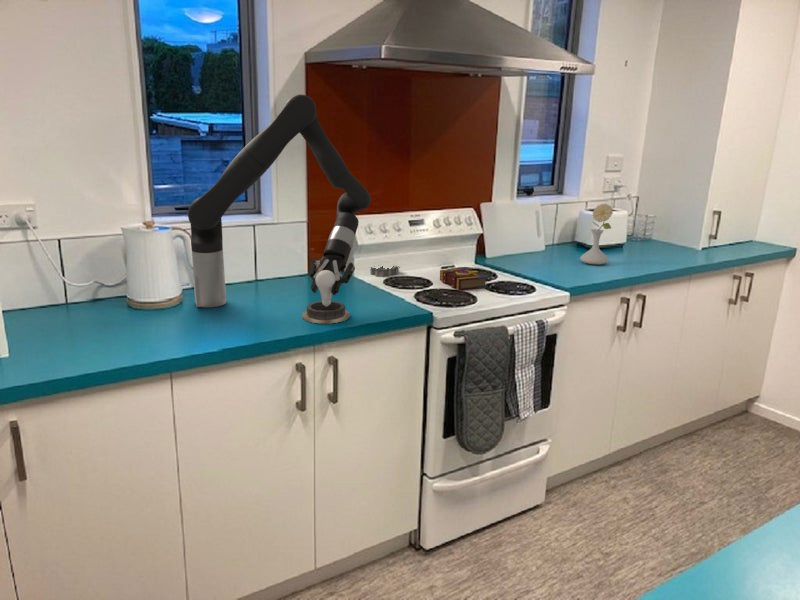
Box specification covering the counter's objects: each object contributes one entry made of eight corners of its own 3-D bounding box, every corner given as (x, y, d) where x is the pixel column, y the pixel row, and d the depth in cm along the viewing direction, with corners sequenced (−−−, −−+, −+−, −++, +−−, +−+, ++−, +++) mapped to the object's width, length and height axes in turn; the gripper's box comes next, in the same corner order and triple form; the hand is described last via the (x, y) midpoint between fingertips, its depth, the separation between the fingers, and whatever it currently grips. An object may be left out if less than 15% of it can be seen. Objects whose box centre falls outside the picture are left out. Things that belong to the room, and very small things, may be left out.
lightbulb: (312, 307, 189) (310, 271, 186) (323, 302, 194) (322, 266, 191) (329, 310, 186) (328, 273, 183) (340, 305, 191) (340, 269, 188)
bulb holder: (308, 326, 182) (307, 315, 181) (297, 312, 195) (297, 301, 194) (355, 321, 187) (355, 310, 186) (342, 307, 199) (342, 297, 198)
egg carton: (390, 270, 248) (391, 260, 247) (401, 274, 242) (402, 264, 241) (367, 274, 242) (367, 263, 241) (377, 278, 236) (377, 267, 235)
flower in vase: (573, 261, 266) (579, 201, 259) (595, 259, 271) (601, 200, 264) (595, 268, 255) (601, 205, 248) (617, 266, 259) (624, 204, 252)
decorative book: (458, 292, 220) (459, 278, 219) (437, 280, 234) (437, 267, 233) (487, 288, 224) (488, 275, 223) (464, 278, 238) (465, 264, 237)
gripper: (314, 236, 193) (296, 283, 186) (358, 239, 189) (341, 288, 181) (322, 249, 200) (305, 296, 192) (365, 253, 195) (349, 301, 188)
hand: (323, 292), depth 187 cm, fingers closed on lightbulb, 5 cm apart
